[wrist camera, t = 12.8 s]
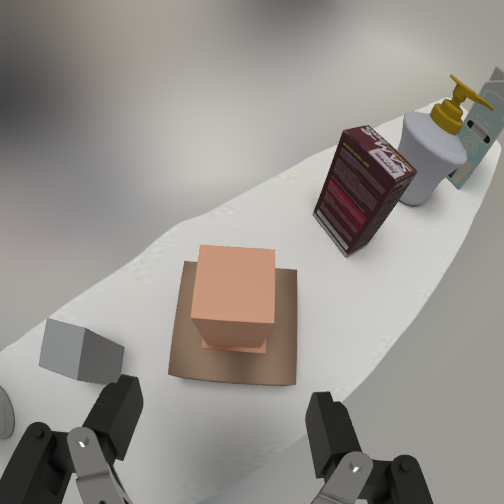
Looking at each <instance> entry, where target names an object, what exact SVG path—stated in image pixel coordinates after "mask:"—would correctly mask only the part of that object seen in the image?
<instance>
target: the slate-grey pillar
mask: <svg viewBox="0 0 504 504" xmlns="http://www.w3.org/2000/svg"><path fill="white" fill-rule="evenodd" d="M123 352H124V347H123V346H121V345H118V344H116V343H114V342H112V341H110V340H108V339H106V338H104V337H102V336H100V335H98V334H96V333H94V332H92V331H90V330H89V329H87V328H84V327H80V326H76V325H72V324H68V323H64V322H60V321H57V320H53V319H49V318H47V322H46V327H45V332H44V337H43V342H42V348H41V354H40V361H39V366H40V367H43V368H45V369H48V370H50V371H53V372H55V373H58V374H61V375H63V376H66V377H69V378H72V379H75V380H79V381H85V382H91V383H99V384H106V385H108V384H109V383H111V382H113V383H117V381H118V379H119V378H120V375H121V367H122V359H123Z"/></svg>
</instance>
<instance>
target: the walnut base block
mask: <svg viewBox="0 0 504 504" xmlns="http://www.w3.org/2000/svg"><path fill="white" fill-rule="evenodd" d="M197 264H198V262H189V261H184V267H183V272H182V278H181V284H180V290H179V296H178V303H177V309H176V316H175V323H174V330H173V337H172V345H171V353H170V361H169V370H168V375H172V376H176V377H180V378H187V379H195V380H203V381H212V382H222V383H234V384H249V385H272V386H288V385H296V363H297V270H292V269H278V268H275V313H274V325H273V326H272V328H271V330H270V332H269V334H268V335H267V337H266V339H265V340H264V342H263V344H262V346H261V347H260V348H248V347H231V346H217V345H207V344H206V342H205V341H204V339H203V338H202V336H201V334H200V333H199V331H198V329H197V328H196V326H195V324H194V323H193V321H192V319H191V310H192V301H193V293H194V286H195V278H196V271H197Z"/></svg>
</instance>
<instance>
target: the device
mask: <svg viewBox="0 0 504 504" xmlns="http://www.w3.org/2000/svg"><path fill="white" fill-rule="evenodd" d="M479 96H480V97H482V98H483V99H485V100H486V101H487V102H488V103H489V104H490V105H491V106H492V107H493V108H494V110H493V111H491V110H490V109H488V108H487V107H485V106H483V105H481V104H479V103H476V102H474V104H473V106H472V108H471V109H470V111H469V113H468V115H467V116H466V118H465V120H464V122H463V126H462V128H461V130H460V131H459V133H458V137H459V139H460V142H461V143H462V145H463V147H464V148H465V150H466V155H467V161H466V163H465V164H464V165H463V166H461V167H459V168H457V169H456V170H454V171H453V172H451V173H450V174H449V175H448V176H446V177H447V178H448V179H449V180H450V181H451V182H452V184H453V185H454V186H455V187H456V188H457V189H458V190H459V189H460V188H461V186H462V185H463V184H464V183H465V181H466V180H467V179H468V177H469V176H470V175H471V174H472V172H473V171H474V170H475V168H476V167H477V166H478V164H479V163H480V162H481V160H482V159H483V157H484V156H485V155H486V153H487V152H488V150H489V149H490V147H491V146H492V145H493V143H494V142H495V140H496V138H497V137H498V136H499V134H500V133H501V131H502V130H503V128H504V72H503V71H502V70H501V69H500V68H498V67H497V66H496V67H495V69H494V71H493V73H492V75H491V77H490V79H489V81H487V82H485V83H484V85H483V87H482V89H481V91H480V93H479Z"/></svg>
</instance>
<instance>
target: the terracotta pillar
mask: <svg viewBox="0 0 504 504" xmlns="http://www.w3.org/2000/svg"><path fill="white" fill-rule="evenodd" d="M274 313H275V250H272V249H256V248H241V247H225V246H209V245H200V250H199V257H198V264H197V271H196V278H195V286H194V293H193V301H192V310H191V319H192V321H193V323H194V324H195V326H196V328H197V329H198V331H199V333H200V334H201V336H202V338H203V339H204V341H205V342H206V344H207V345H217V346H231V347H248V348H260V347H261V346H262V344H263V342H264V340H265V339H266V337H267V335H268V334H269V332H270V330H271V328H272V326H273V325H274Z"/></svg>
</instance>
